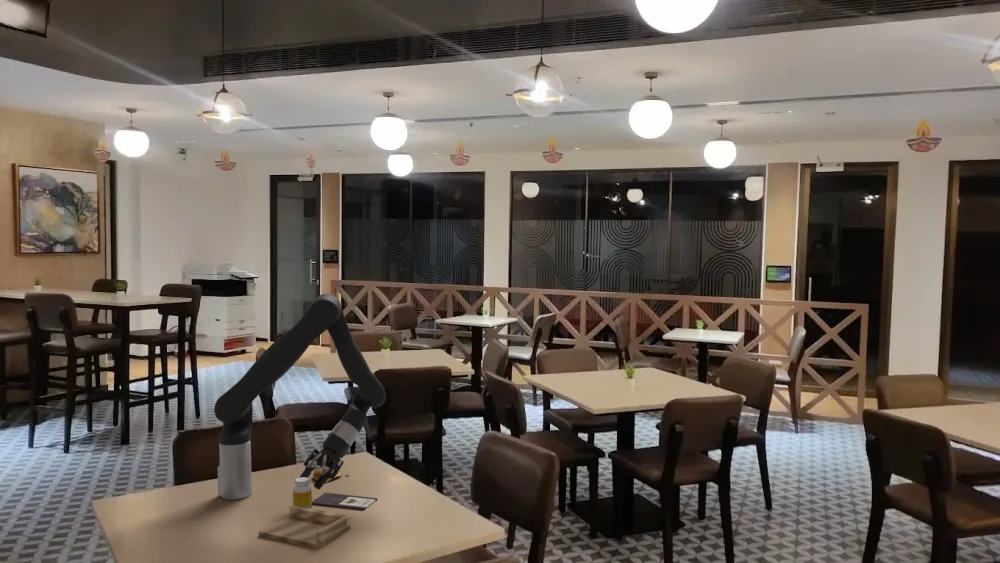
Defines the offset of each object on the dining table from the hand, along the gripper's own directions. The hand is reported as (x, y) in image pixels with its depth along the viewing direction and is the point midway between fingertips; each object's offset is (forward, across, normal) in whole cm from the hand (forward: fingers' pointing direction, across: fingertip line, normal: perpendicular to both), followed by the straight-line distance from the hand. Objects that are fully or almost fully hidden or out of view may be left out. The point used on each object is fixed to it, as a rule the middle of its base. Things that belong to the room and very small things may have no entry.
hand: (308, 484), depth 210 cm
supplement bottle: (+7, 0, +4) cm, 8 cm away
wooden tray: (+12, +14, -2) cm, 19 cm away
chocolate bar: (-2, +3, +13) cm, 14 cm away
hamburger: (-9, -20, +20) cm, 30 cm away
